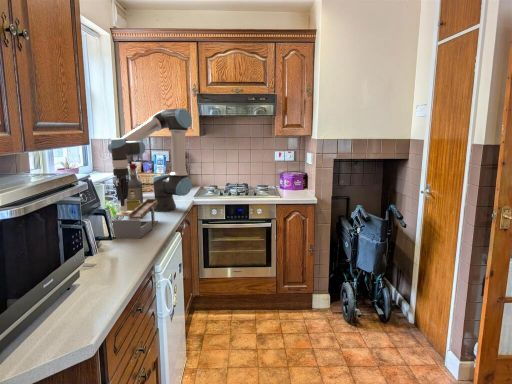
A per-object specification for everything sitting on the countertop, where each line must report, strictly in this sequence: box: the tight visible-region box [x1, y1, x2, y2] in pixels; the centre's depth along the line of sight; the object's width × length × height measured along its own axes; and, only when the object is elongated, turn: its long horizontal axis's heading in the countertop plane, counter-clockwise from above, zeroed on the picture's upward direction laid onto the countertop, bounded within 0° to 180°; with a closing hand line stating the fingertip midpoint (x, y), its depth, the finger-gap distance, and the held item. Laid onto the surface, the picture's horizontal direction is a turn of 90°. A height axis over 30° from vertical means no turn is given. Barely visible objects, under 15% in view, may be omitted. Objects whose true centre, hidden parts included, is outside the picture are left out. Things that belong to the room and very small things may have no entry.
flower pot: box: [126, 200, 140, 218], centre depth 221 cm, size 9×9×9 cm
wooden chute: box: [115, 198, 158, 219], centre depth 201 cm, size 24×16×5 cm, turn 176°
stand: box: [135, 207, 159, 228], centre depth 201 cm, size 8×12×10 cm, turn 86°
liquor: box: [126, 163, 144, 205], centre depth 240 cm, size 9×9×30 cm
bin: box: [111, 219, 153, 239], centre depth 184 cm, size 15×15×9 cm
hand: (124, 211), depth 195 cm, fingers closed
